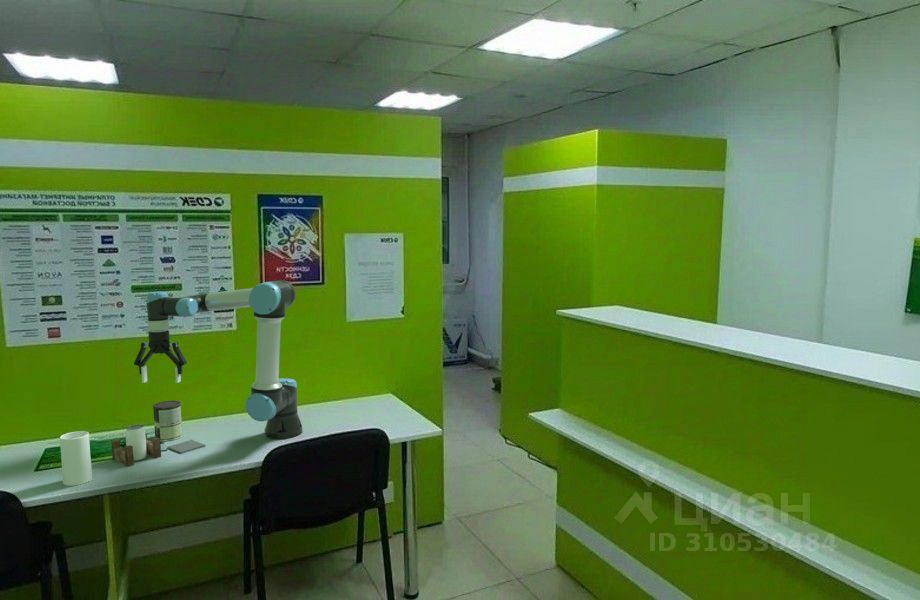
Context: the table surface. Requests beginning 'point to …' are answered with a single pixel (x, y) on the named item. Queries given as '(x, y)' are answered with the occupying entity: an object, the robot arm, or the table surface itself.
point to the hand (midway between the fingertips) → (161, 382)
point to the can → (137, 441)
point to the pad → (186, 446)
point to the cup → (75, 458)
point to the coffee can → (167, 420)
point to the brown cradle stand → (126, 454)
